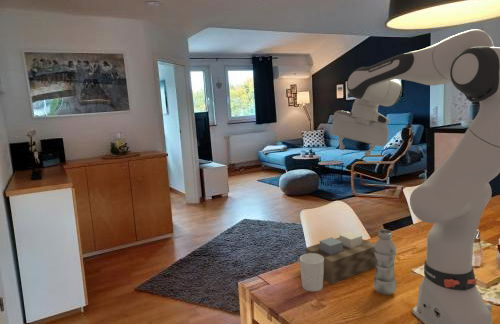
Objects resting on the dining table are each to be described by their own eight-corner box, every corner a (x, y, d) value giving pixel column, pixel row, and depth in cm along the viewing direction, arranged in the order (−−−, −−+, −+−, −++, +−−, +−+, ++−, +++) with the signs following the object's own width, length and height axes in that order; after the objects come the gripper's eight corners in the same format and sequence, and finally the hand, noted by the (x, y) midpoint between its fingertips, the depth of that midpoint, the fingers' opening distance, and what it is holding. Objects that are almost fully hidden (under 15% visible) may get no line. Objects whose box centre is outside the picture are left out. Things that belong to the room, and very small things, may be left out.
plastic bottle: (398, 298, 110) (399, 236, 107) (374, 296, 111) (375, 235, 108) (394, 287, 116) (395, 228, 113) (372, 286, 118) (372, 227, 114)
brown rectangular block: (349, 253, 143) (349, 234, 142) (378, 266, 131) (378, 245, 130) (306, 268, 132) (305, 247, 131) (332, 284, 120) (332, 261, 119)
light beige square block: (350, 241, 136) (350, 231, 136) (362, 246, 131) (362, 235, 131) (339, 245, 134) (339, 234, 133) (350, 250, 129) (350, 239, 128)
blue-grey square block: (331, 247, 132) (331, 237, 131) (342, 252, 127) (342, 242, 126) (320, 251, 129) (319, 241, 128) (330, 257, 124) (330, 246, 123)
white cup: (319, 279, 124) (318, 251, 122) (328, 290, 116) (327, 261, 115) (297, 282, 123) (296, 254, 121) (304, 294, 115) (303, 265, 113)
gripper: (336, 107, 127) (327, 145, 127) (393, 121, 126) (384, 159, 126) (333, 110, 133) (324, 146, 133) (387, 122, 133) (378, 159, 133)
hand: (354, 152), depth 130 cm, fingers open, 8 cm apart
